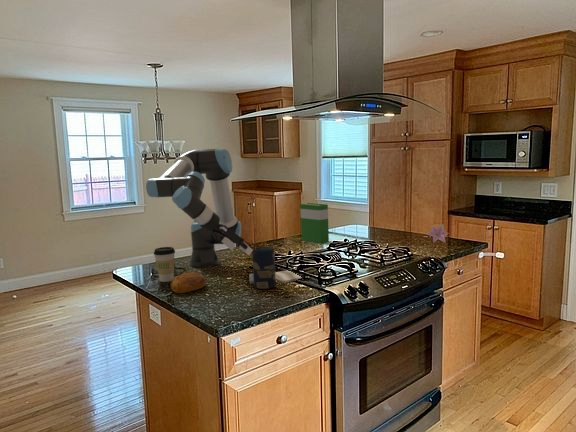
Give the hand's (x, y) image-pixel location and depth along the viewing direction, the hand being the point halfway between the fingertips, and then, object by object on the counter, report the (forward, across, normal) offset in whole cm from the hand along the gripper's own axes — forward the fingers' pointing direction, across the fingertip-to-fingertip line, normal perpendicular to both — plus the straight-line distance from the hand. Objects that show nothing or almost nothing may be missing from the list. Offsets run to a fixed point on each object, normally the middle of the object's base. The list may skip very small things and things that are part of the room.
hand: (241, 250), depth 185 cm
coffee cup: (+1, -42, -25) cm, 49 cm away
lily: (+113, -6, +87) cm, 143 cm away
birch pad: (+32, -6, +7) cm, 33 cm away
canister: (+20, 0, -5) cm, 21 cm away
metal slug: (+20, -9, -6) cm, 22 cm away
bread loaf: (+2, -23, -24) cm, 33 cm away
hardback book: (+77, -63, +52) cm, 112 cm away
